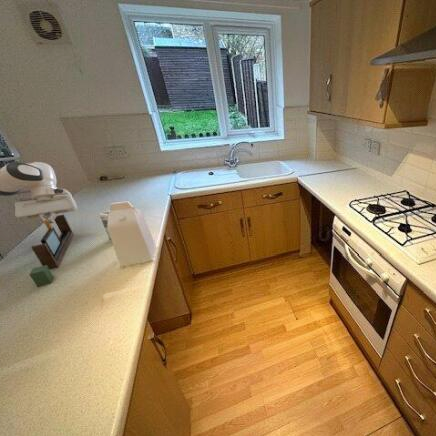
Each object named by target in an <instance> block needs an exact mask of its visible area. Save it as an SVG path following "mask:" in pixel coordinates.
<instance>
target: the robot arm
mask: <svg viewBox="0 0 436 436" xmlns="http://www.w3.org/2000/svg"><path fill="white" fill-rule="evenodd" d="M57 182H58V181H57V177H56V172H55V170H54V169H53V167H52V166H51V165H50V164H48V163H46V162H42V161H34V162H29V163H28V162H27V163H26V162H21V161H10V162H8V163H6V164H5V165H4V166H2V167H1V168H0V196H9V197H10V196H15V195H17V194H18V193H19V192H20V191H21V190H22V189H24V188H25V187H26V188H29V189H30V195H31V197H27V198H21V199H18V200H17V201H15V202H14V208H15V209H14V216H15V217H16V218H17V219H19V220H21V221H23V220H30V219H35V218H40V219H42V220H43V225H46V224H45V223H44V221H45V220H49V222H50V223H51V224H56V222H55V218H56V216H58V215H60V214H65V213H70V212H75V211H77V209H78V204H77V202H76V200H75V199H74V198H73V195H72V193H71V192H70V191H69V190H67V189H66V188H59V187H58V186H57ZM48 216H50V218H47V217H48Z"/></svg>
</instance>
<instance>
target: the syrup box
mask: <svg viewBox="0 0 436 436" xmlns="http://www.w3.org/2000/svg"><path fill="white" fill-rule="evenodd" d="M109 212H110V209H108V210H105V211H103V212H101V213H99V217H100V220H101V222H102V225H103V228H104V230H105V233H106V235H107V237H108V240H109V241H110V242H112V241H111V238H110V235H109V232H108V228H107V223H108V217H109Z"/></svg>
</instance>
